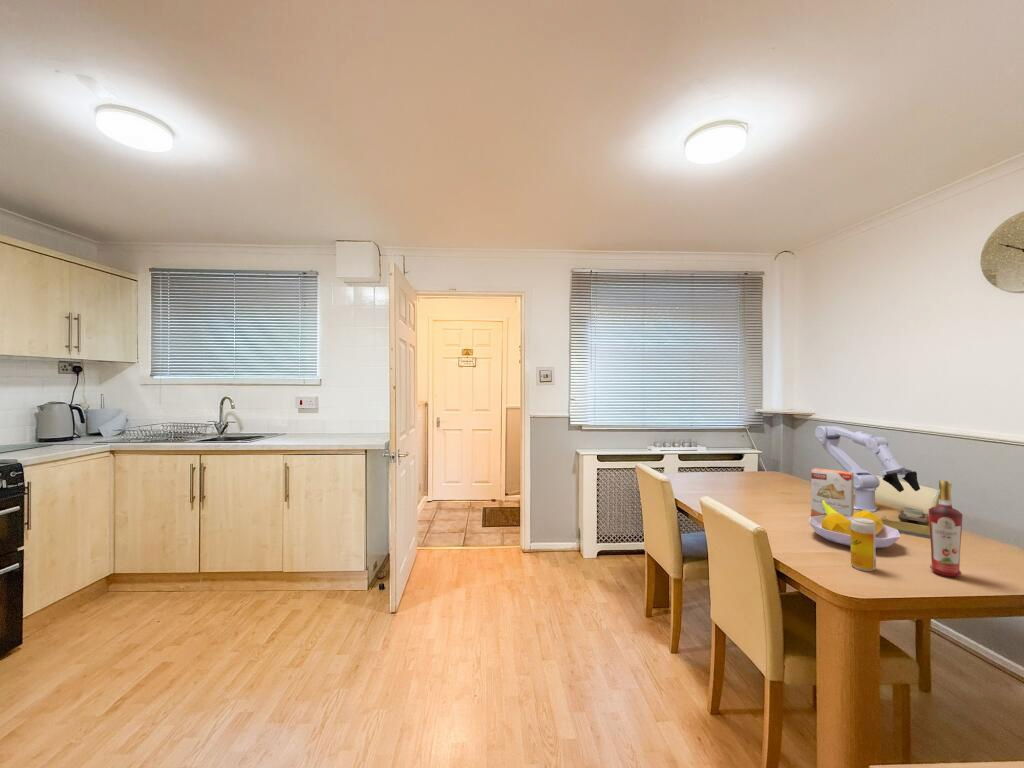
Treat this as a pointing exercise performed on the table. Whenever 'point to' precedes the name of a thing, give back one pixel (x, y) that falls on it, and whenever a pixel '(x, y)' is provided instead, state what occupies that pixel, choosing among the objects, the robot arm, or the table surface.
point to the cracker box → (832, 491)
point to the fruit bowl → (840, 527)
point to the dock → (908, 528)
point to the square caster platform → (913, 515)
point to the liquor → (945, 534)
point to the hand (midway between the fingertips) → (909, 490)
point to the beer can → (863, 544)
